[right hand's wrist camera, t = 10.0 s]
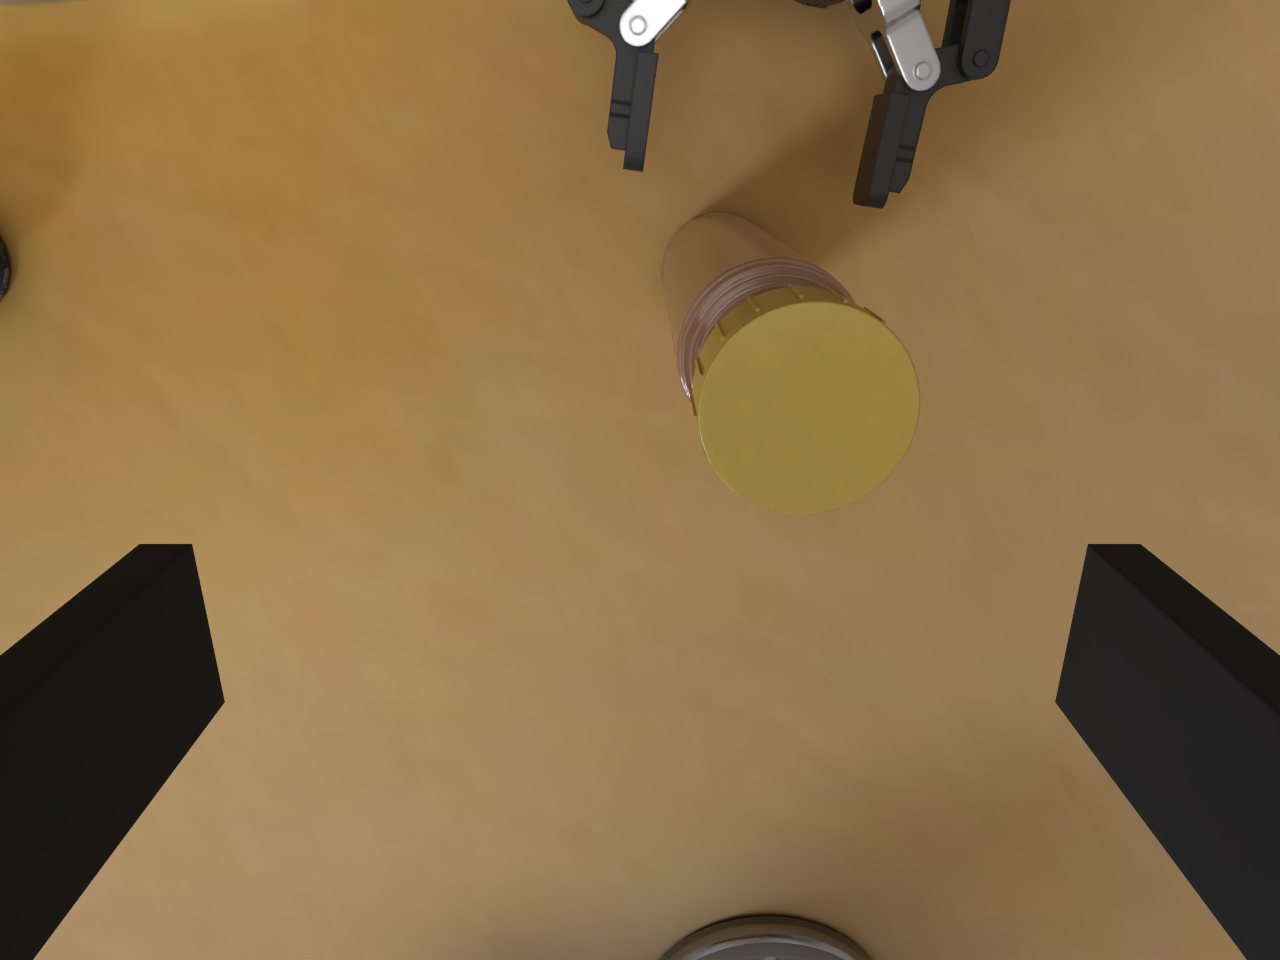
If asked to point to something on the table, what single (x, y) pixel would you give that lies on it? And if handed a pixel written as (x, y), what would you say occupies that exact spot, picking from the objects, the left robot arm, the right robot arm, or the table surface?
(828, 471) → the cap
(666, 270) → the bottle
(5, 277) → the dark grey tiered piece
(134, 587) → the right robot arm
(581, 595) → the table surface
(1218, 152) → the table surface
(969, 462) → the table surface
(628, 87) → the left robot arm
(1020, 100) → the table surface
